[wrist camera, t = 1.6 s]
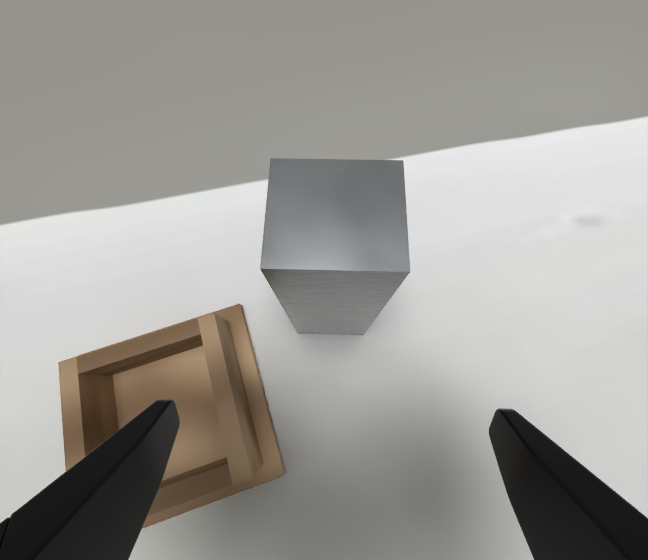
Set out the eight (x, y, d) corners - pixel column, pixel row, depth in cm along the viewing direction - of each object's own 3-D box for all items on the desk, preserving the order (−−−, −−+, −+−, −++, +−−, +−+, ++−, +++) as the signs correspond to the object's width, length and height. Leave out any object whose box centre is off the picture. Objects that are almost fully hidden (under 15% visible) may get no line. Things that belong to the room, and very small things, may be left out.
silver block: (362, 334, 22) (410, 271, 9) (297, 333, 22) (260, 268, 9) (362, 279, 23) (403, 160, 11) (300, 278, 23) (270, 158, 11)
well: (285, 472, 19) (275, 492, 16) (102, 541, 18) (50, 577, 15) (241, 305, 22) (226, 292, 19) (85, 356, 21) (39, 351, 18)
